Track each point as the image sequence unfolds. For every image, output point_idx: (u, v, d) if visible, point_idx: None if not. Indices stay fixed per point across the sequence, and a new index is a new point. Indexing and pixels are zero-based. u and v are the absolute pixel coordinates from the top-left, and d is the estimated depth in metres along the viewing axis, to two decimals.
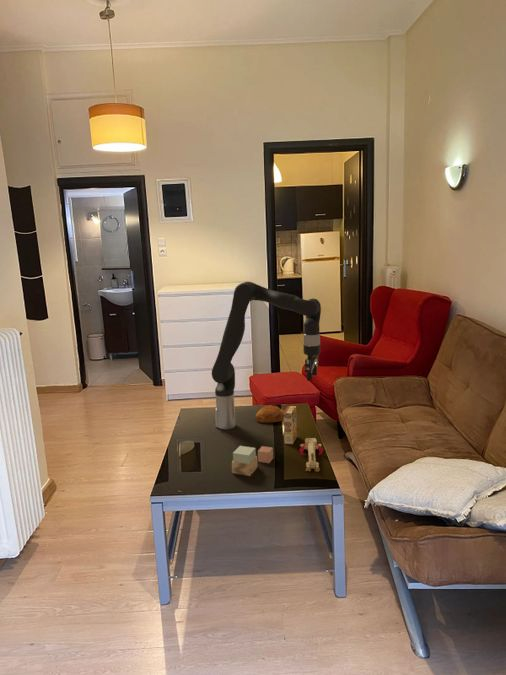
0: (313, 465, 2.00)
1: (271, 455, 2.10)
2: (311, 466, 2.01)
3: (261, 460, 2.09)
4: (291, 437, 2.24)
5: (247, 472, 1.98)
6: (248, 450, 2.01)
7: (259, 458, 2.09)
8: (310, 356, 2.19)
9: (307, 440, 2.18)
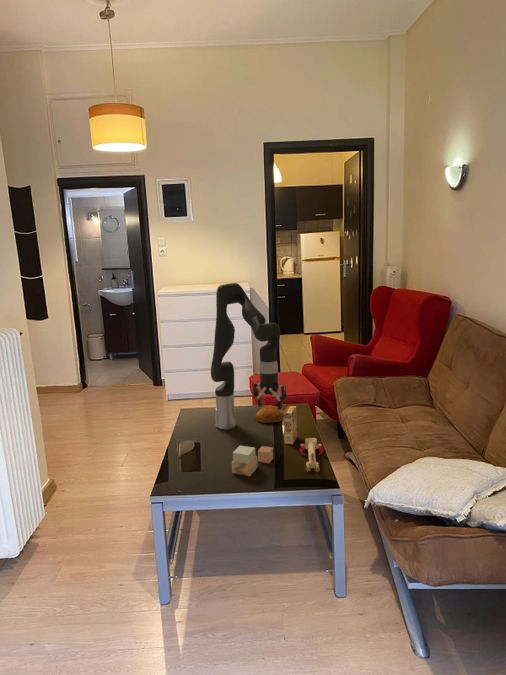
0: (313, 465, 2.00)
1: (271, 455, 2.10)
2: (311, 466, 2.01)
3: (261, 460, 2.09)
4: (291, 437, 2.24)
5: (247, 472, 1.98)
6: (248, 449, 2.01)
7: (259, 458, 2.09)
8: (277, 382, 2.04)
9: (307, 440, 2.18)
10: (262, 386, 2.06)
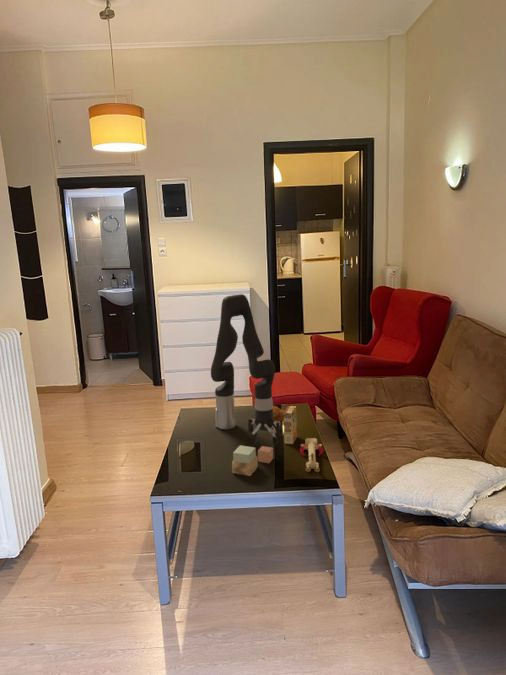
0: (313, 465, 2.00)
1: (271, 455, 2.10)
2: (311, 466, 2.00)
3: (261, 460, 2.09)
4: (291, 437, 2.24)
5: (247, 472, 1.98)
6: (248, 449, 2.01)
7: (259, 458, 2.09)
8: (272, 418, 2.05)
9: (307, 440, 2.18)
10: (257, 422, 2.07)
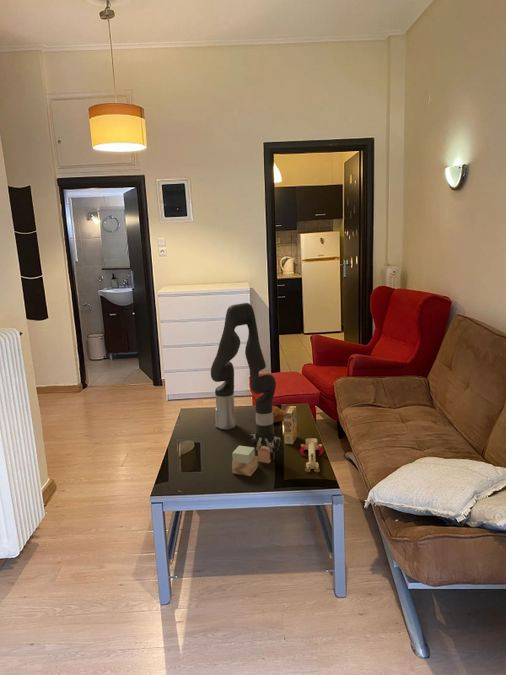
0: (313, 465, 2.00)
1: None
2: (311, 466, 2.00)
3: (261, 460, 2.09)
4: (291, 437, 2.24)
5: (247, 472, 1.98)
6: (247, 449, 2.01)
7: (259, 458, 2.09)
8: (273, 433, 2.07)
9: (308, 440, 2.17)
10: (258, 436, 2.08)
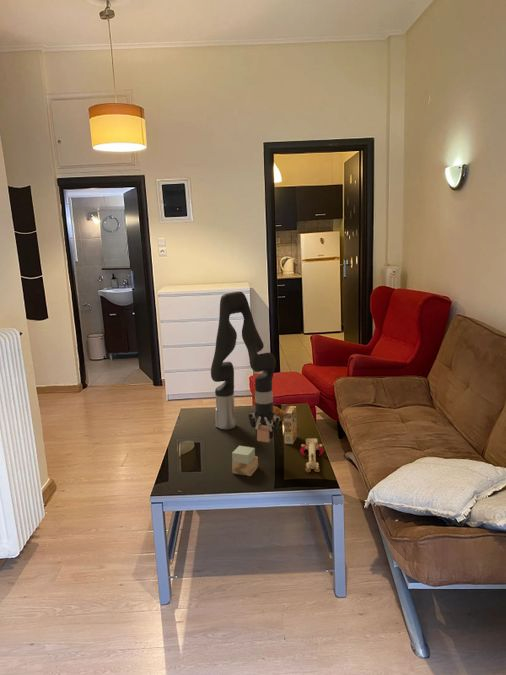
0: (313, 465, 2.00)
1: None
2: (311, 466, 2.00)
3: (260, 439, 2.07)
4: (291, 437, 2.24)
5: (247, 472, 1.98)
6: (247, 450, 2.01)
7: (258, 437, 2.07)
8: (272, 412, 2.05)
9: (308, 440, 2.17)
10: (257, 415, 2.06)
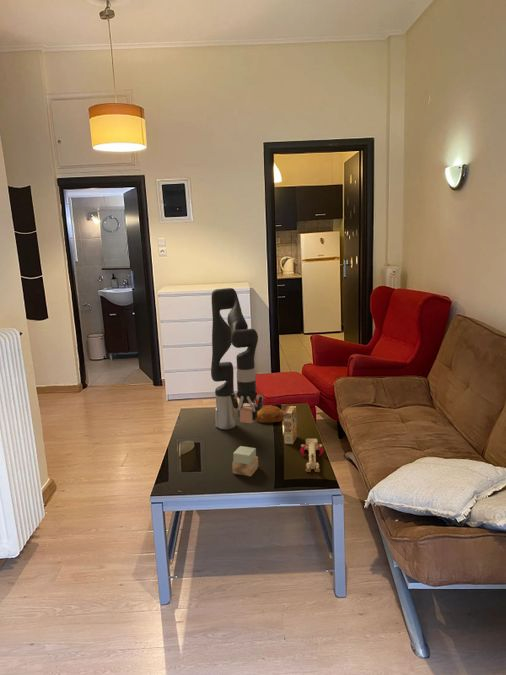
0: (313, 466, 2.00)
1: None
2: (311, 467, 2.00)
3: (243, 420, 1.97)
4: (291, 437, 2.24)
5: (247, 472, 1.98)
6: (248, 450, 2.01)
7: (241, 418, 1.97)
8: (255, 391, 1.96)
9: (308, 440, 2.17)
10: (239, 395, 1.97)
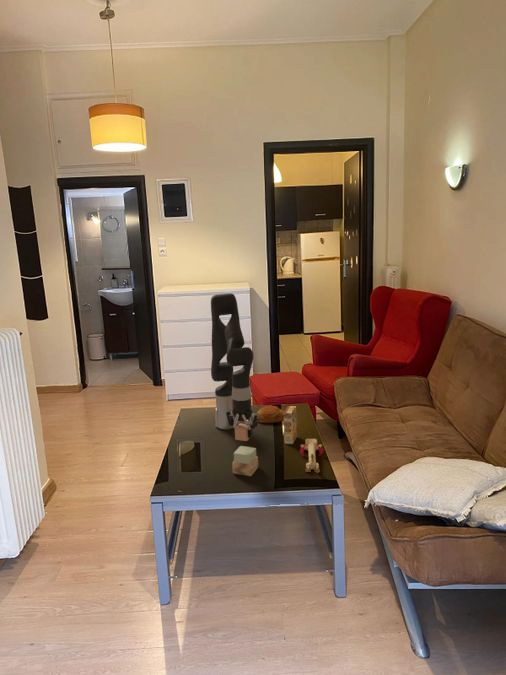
0: (313, 466, 2.00)
1: None
2: (311, 467, 2.00)
3: (238, 438, 1.98)
4: (291, 437, 2.24)
5: (247, 472, 1.98)
6: (249, 450, 2.01)
7: (236, 435, 1.98)
8: None
9: (307, 441, 2.17)
10: (235, 412, 1.97)
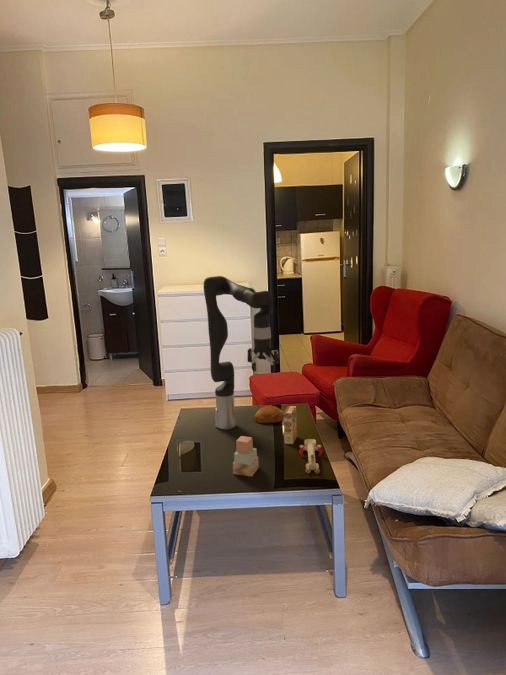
0: (313, 466, 1.99)
1: (250, 445, 1.99)
2: (311, 467, 1.99)
3: (240, 450, 1.99)
4: (291, 437, 2.24)
5: (248, 472, 1.97)
6: None
7: (237, 448, 1.99)
8: (270, 348, 2.16)
9: (306, 441, 2.16)
10: (256, 351, 2.18)
